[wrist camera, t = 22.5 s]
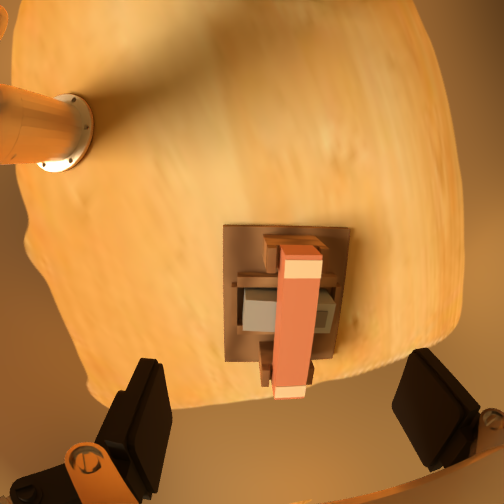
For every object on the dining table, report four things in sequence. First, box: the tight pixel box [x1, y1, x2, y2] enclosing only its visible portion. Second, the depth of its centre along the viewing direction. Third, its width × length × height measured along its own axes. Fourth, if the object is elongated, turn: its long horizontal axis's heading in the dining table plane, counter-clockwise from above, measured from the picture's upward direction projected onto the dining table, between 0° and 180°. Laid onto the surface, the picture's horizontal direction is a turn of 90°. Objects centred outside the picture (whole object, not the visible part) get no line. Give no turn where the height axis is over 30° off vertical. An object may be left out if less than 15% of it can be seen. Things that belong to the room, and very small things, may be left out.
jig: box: [223, 225, 350, 387], centre depth 41 cm, size 18×22×9 cm
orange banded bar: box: [271, 245, 323, 400], centre depth 36 cm, size 4×20×5 cm, turn 179°
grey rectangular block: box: [242, 287, 336, 333], centre depth 41 cm, size 12×4×6 cm, turn 85°
